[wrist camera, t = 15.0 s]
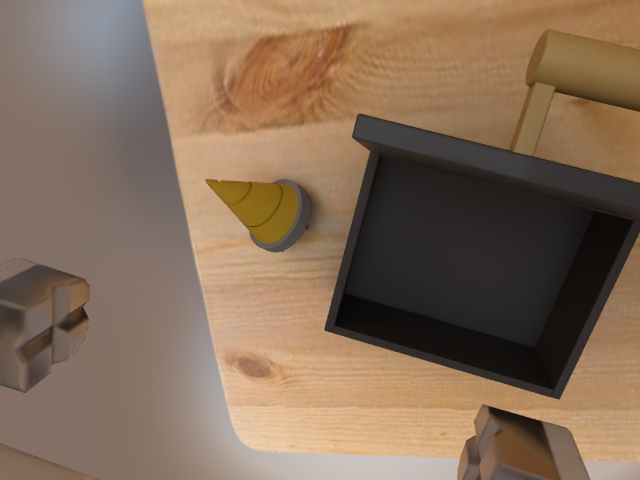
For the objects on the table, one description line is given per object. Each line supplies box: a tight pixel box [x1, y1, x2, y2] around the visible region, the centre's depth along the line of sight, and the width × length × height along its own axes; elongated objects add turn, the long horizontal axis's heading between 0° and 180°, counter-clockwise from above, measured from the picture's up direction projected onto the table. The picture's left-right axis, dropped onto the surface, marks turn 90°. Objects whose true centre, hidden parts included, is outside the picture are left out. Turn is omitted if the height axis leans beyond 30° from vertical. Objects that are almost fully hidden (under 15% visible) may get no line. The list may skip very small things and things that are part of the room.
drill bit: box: [205, 179, 310, 252], centre depth 35 cm, size 5×5×10 cm
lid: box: [352, 29, 640, 220], centre depth 21 cm, size 14×16×5 cm
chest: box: [324, 151, 640, 399], centre depth 34 cm, size 13×16×6 cm
